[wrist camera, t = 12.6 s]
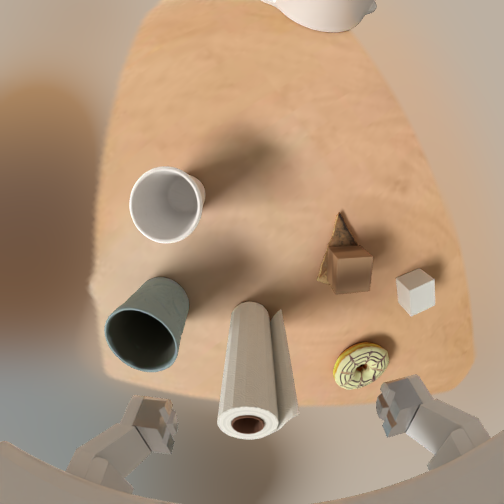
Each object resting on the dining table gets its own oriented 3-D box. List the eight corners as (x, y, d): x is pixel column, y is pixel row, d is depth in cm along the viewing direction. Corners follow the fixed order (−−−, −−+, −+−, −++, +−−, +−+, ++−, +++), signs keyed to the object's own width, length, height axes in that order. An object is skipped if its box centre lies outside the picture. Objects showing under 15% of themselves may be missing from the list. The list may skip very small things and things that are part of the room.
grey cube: (395, 277, 41) (409, 290, 37) (419, 267, 41) (434, 279, 36) (398, 302, 43) (410, 316, 38) (421, 292, 42) (435, 305, 37)
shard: (336, 210, 39) (339, 212, 37) (379, 224, 39) (384, 227, 38) (313, 277, 42) (316, 282, 40) (356, 287, 43) (359, 292, 41)
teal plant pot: (133, 314, 44) (104, 356, 32) (140, 262, 41) (105, 296, 29) (188, 333, 44) (171, 381, 33) (201, 281, 41) (183, 324, 30)
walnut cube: (328, 247, 39) (337, 258, 34) (360, 245, 38) (373, 256, 34) (326, 279, 40) (335, 294, 35) (357, 276, 40) (369, 291, 35)
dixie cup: (202, 232, 39) (186, 255, 30) (150, 211, 38) (120, 226, 29) (224, 178, 37) (214, 183, 27) (170, 156, 36) (143, 155, 26)
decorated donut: (374, 377, 48) (379, 389, 45) (326, 380, 48) (329, 394, 45) (390, 337, 45) (398, 349, 42) (338, 339, 45) (344, 352, 41)
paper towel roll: (226, 326, 44) (210, 434, 24) (237, 295, 42) (225, 402, 22) (268, 338, 45) (276, 445, 24) (281, 308, 43) (299, 415, 22)
